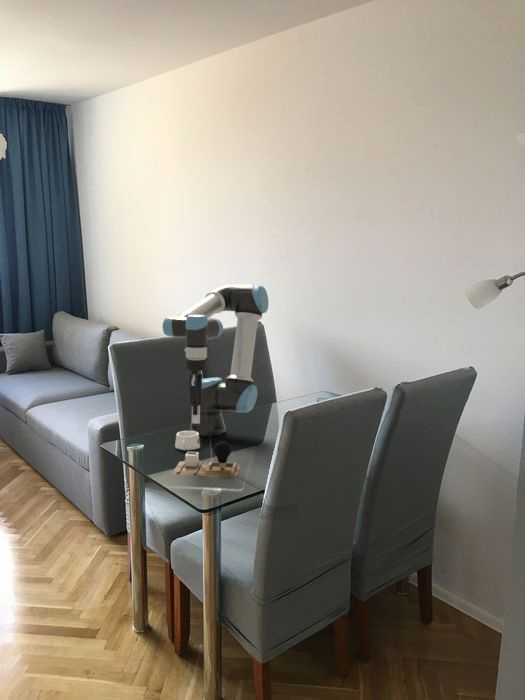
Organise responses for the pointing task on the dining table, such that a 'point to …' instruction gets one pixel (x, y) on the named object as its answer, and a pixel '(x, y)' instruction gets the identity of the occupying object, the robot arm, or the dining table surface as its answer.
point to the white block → (192, 459)
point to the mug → (187, 440)
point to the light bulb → (222, 453)
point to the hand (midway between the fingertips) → (195, 422)
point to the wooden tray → (208, 469)
